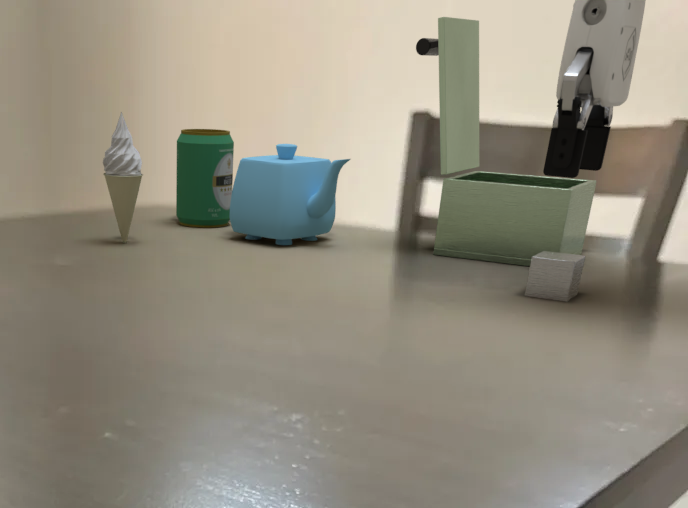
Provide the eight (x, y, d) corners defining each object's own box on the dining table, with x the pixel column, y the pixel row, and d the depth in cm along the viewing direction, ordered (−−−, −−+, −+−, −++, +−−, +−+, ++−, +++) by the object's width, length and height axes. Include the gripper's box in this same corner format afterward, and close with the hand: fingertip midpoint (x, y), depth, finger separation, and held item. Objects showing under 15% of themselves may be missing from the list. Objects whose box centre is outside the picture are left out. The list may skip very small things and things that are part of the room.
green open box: (581, 254, 126) (596, 180, 122) (556, 269, 117) (571, 189, 113) (465, 241, 133) (476, 170, 129) (432, 254, 124) (443, 178, 119)
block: (576, 299, 103) (585, 255, 101) (565, 307, 100) (575, 261, 97) (534, 293, 105) (543, 250, 103) (523, 301, 102) (531, 256, 99)
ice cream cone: (128, 238, 129) (126, 110, 121) (151, 243, 126) (150, 112, 118) (97, 241, 126) (93, 110, 119) (119, 247, 123) (116, 112, 115)
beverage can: (212, 229, 137) (215, 134, 130) (165, 224, 140) (165, 130, 134) (241, 223, 142) (244, 131, 136) (195, 217, 146) (196, 127, 140)
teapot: (313, 255, 122) (320, 153, 116) (209, 236, 132) (211, 141, 126) (370, 244, 129) (380, 148, 123) (268, 227, 140) (272, 137, 134)
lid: (479, 20, 121) (440, 28, 124) (444, 16, 112) (403, 25, 114) (479, 166, 128) (442, 170, 131) (446, 174, 119) (408, 178, 121)
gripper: (642, -47, 79) (591, 183, 88) (677, -30, 92) (629, 170, 101) (549, -47, 82) (509, 175, 91) (596, -30, 95) (557, 163, 104)
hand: (572, 172), depth 96 cm, fingers open, 9 cm apart
